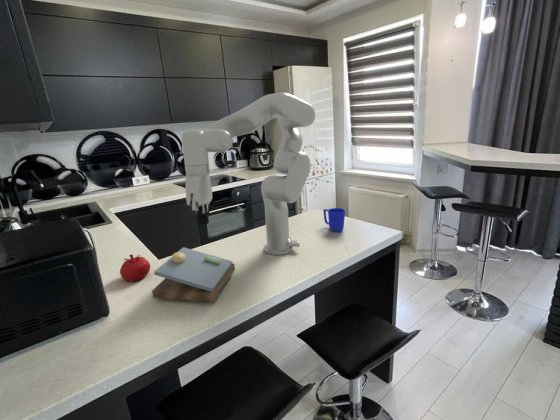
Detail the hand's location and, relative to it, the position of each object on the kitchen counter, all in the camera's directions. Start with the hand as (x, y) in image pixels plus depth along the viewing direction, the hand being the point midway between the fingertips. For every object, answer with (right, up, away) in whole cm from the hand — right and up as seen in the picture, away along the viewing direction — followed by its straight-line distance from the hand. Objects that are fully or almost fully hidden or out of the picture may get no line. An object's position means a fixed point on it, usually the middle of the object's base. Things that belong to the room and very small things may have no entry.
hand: (203, 223), depth 99 cm
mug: (+53, -5, +46) cm, 70 cm away
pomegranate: (-27, -20, +8) cm, 35 cm away
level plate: (-2, -15, -2) cm, 15 cm away
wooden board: (-2, -21, 0) cm, 21 cm away
